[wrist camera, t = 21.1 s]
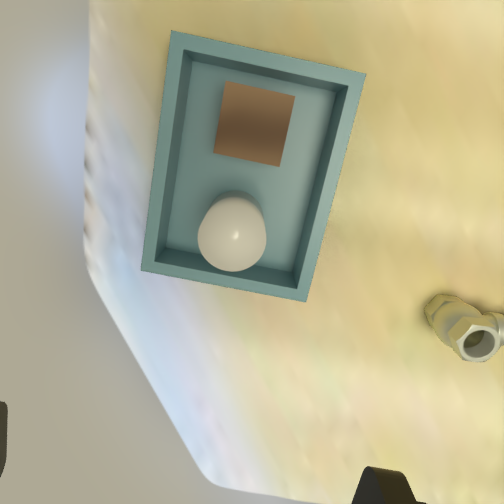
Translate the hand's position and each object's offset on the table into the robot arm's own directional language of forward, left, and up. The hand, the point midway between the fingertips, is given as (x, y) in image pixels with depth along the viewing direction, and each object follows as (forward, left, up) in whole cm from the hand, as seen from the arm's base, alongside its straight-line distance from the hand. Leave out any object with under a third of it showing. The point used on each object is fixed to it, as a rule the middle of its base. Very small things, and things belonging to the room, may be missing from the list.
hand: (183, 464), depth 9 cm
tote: (-4, 0, -28) cm, 28 cm away
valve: (+5, +26, -28) cm, 38 cm away
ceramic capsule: (0, 0, -27) cm, 27 cm away
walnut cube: (-8, 0, -27) cm, 28 cm away
